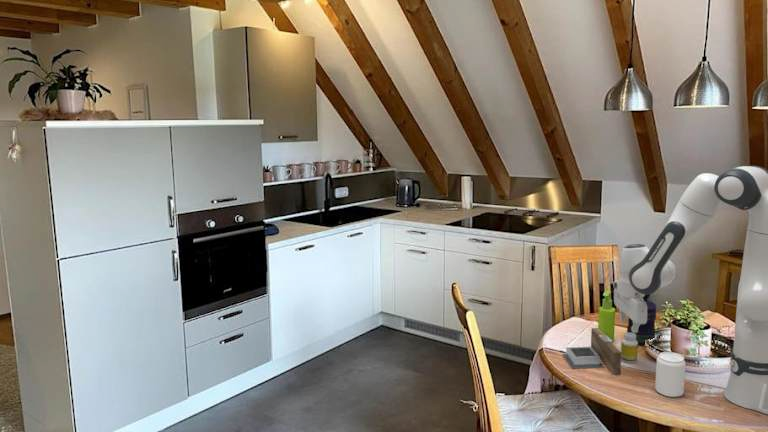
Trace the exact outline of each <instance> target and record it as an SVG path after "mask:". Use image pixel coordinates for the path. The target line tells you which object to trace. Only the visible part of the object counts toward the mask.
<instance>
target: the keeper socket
mask: <svg viewBox="0 0 768 432" xmlns="http://www.w3.org/2000/svg"><path fill="white" fill-rule="evenodd" d="M562 357H563V358H564V360H565V361H566V364H568V366H569V367H570V368H571V369H572V370H574V369H575V370H576V369H577V370H578V369H582V370H583V369H603V368H604V366H605V365H604V364H602V362H601V360H600V356H599V355H598V354H597V353H596V352H595V351H594V349H593V348H592V347H591V346H576V347H575V346H570V347H569V346H567V347H566V348H565V353H563V354H562Z"/></svg>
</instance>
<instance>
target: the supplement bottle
mask: <svg viewBox="0 0 768 432" xmlns="http://www.w3.org/2000/svg"><path fill="white" fill-rule="evenodd" d="M635 339H636V334H634V333H631V332H627V331H626V332H624V333H623V338H622V339H621V345H620V352H621V362H622V361H623V363H624V362H625V363H629V364H634V363H637V361H638V348H639V346H638V342H637V340H635Z"/></svg>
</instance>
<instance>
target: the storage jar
mask: <svg viewBox="0 0 768 432" xmlns="http://www.w3.org/2000/svg"><path fill="white" fill-rule="evenodd" d="M644 301H645V302H646V304H647V322H646V324H640V326H639V328H638V332H637V333H634V334H636V339H635V340H637V342H638V347H644V345H645V340H646V339H650V340H651V339H653V338H655V337H656V329H655V323H656V320H657V304H656V303H655V302H652V301H650V300H649V301H648V300H644ZM627 320H628V321H627V323H628V325H627V327H626V332H631V333H633V332H632V331H631V326H633V321H632V320H631V319H630V318H629V317H628V316H627ZM655 339H656V338H655Z"/></svg>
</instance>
